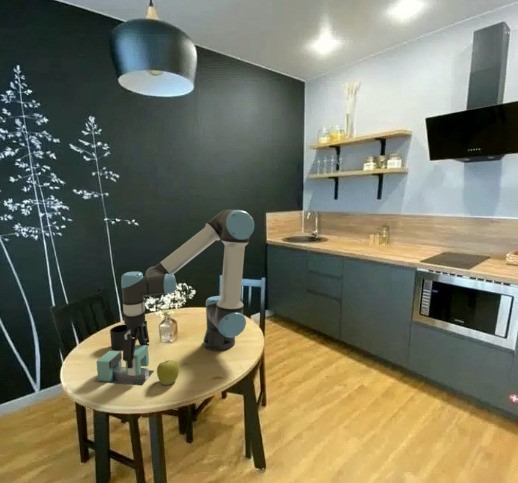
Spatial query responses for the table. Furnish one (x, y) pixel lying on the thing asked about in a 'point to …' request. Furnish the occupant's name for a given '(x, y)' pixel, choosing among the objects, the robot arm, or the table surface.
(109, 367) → the teal notched block
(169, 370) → the apple
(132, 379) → the rail base
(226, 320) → the robot arm
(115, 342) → the mug
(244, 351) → the table surface
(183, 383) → the table surface
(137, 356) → the teal arch
